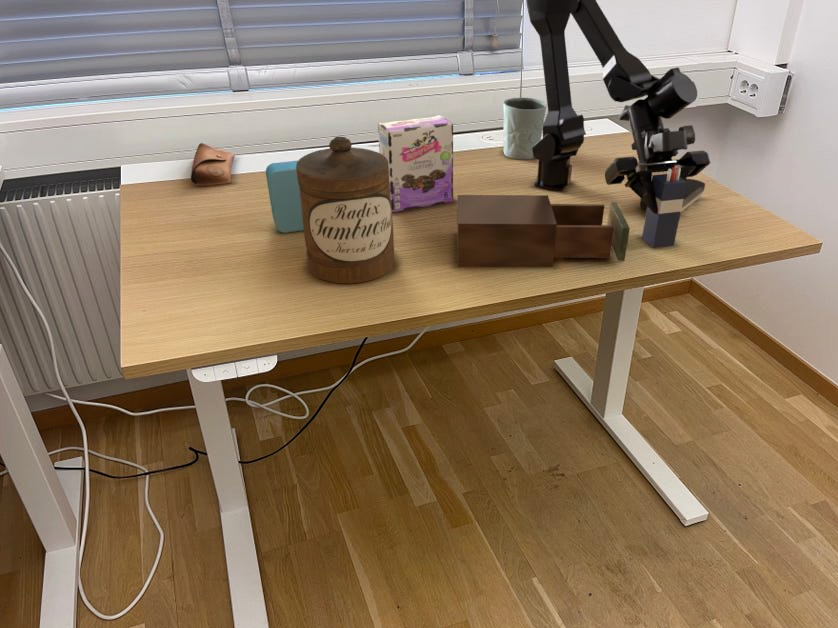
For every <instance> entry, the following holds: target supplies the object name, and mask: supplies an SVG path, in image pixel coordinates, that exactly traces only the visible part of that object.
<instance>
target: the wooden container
mask: <svg viewBox="0 0 838 628" xmlns="http://www.w3.org/2000/svg"><path fill="white" fill-rule="evenodd" d="M328 147H329V148H324V149H320V150H316V151H312V152H310V153H307V154H304V156H302V157H301V158H299V159H298V160H297V161H298V162H297V164H296V171H297V179H298V184H299V189H300V198H301V207H302V218H303V228H304V230H303V237H304V245H305V248H306V257H307V264H308V269H309V272H311V274H313V276H315V277H317V278H318V279H321V280H323V281H327V282H330V283H335V284H359V283H365V282H369V281H373V280H376V279H377V278H381V277H383V276H384V275H386V274H387V273H389V272H390V271H391V270H392V268H394V265H395V243H394V242H395V239H394V222H393V212H392V208H391V195H390V183H389V167H388V160H387V158H386V157H385V156H384V155H382V154H380V153H379V151H375V150H371V149H367V148H360V147H353V146H352V142H351V139H349V138H347V137H345V136H335V137H334V138H333V139H331V140H330V141H329V144H328Z"/></svg>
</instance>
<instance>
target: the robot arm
mask: <svg viewBox="0 0 838 628" xmlns="http://www.w3.org/2000/svg"><path fill="white" fill-rule="evenodd" d="M525 3H526V9H527V13H528V17H529V22H530V24H531V26H532V27H533V29H534V31H536V33H537V35H538V37H539V41H540V42H539V43H540V51H541V53H540V54H541V60H542V68H543V69H542V70H543V78H544V87H545V96H546V106H547V112H546V115H545V117H544V123H543V131H542V137H541V140H540V141H539V142H538V143H537V144H536V145H535V146H534V147H533V148H532V151H533V157H534V158H533V159H535V160H538V163H537V176H536V177H537V179H536V182H534V187H536V188H541V189H547V190H553V191H557V192H558V191H559V192H563V191H564V190H565V189H566V188H567V187H568V186H569V185H570V184H571V182H572V173H573V164H572V163H571V157H575V156H577V155H578V152H579V149H580V148H581V147H582V145H583V144H584V142H585V135H587V133H586V132H587V131H586V130H585V117H584V115H583V114H579V115H578V114H577V112H576V111H575V109H574V107H573V103H572V94H571V93H572V92H571V84H570V83H571V82H570V74H569V65H568V55H567V53H568V52H567V44H566V43H567V42H566V34H565V31H566V28H567V26H568V23H569V20H570V17H571V16H572V17H573V19H574V21H575V23H576V24H577V26H578V28H579V30H580V31H581V33H582V34H583V36H584V37H585V39H586V41H587V43H588V45H589V47H590V48H591V49H592V51H593V53H594V55H595V56H596V58H597V59H598V61H599V63H600V65H601V67H602V81H603V84H604V85H605V88H606V90H607V93H608V95H609V97H610V98H611V100H612V101H614V102H618V103H624V102H629V101H633V100H636V101H634V102H633V103H632V104H630V105H627V104H626V105H624V107H623V110H622V112H620V115H619V117H618V119H619V120H620V121H625V122H629V125H630V130H631V134H632V138H633V143H632V144H631V145H630V147H631V150H632V151H636V155H637V158H636V157H635V156H623V157H616V158H615V159H614V160H613V161H612V162H611V164H610V165H609V166H608V167H607V168H606V169H605V171H604V180H605V183H606V185H608V186H610V185H621V184H622V183H623V182H624V180H625V179H626V180H627V181H626V182H625V183H624V187H625V188H629V189H630V190H632V191H633V193H635V194H636V195H637V196H638V197H639V198H640V200H641V199H642V200H643V202H644V203H645V204H646V205H647V206H648V207H649V209H650V210H651V211H652V212H653V213H654V214H655V213H657V212H658V207H657V201H656V197H655V193H654V190H653V186H652V176H653V174H654V173H655V174H656V173H664V172H665V173H666V172H668V169H671V170H672V171H673V168H674V167H676V173H677V169H678V168H680V169H681V171H680V176H679V177H681V178H682V179H684V180H685V181H686V179H688V178H692V177H695V176H697V175H698V174H699V173H701V172H702V171H703V170H704V169H706V168H707V167H708V166H709V165H710V164H711V159H710V156H709V153H708V152H707V151H706V150H691V151H687V152H685V153H684V154H683V155H682V156H681V157H680V158H679V159H672V158H673V157H676V156H677V155H679V150H680V151H681V150H688V146H689V145H694V144H695V142H696V132H695V130H694V127H693V125H692V124H691V125H683V126H679V127H678V130H673V131H672V130H670V128H668V127H666V128H665V126H664V122H663V119H665V120H668V119H669V120H670V119H671V118H673V117H674V116H675V115H677V114H678V113H680V112H682V110H684V109H686V108H687V107H688V106H690V105H691V104H693V103H694V102H695V101H696V100H697V98H698V89H697V86H696V84H695V82H694V81H693V80H691V78H690V77H689V76H688V75H686V74H685V73H683V72H681V69H680V67H678V66H677V67H672V68H670V69H669V70H667V71H666V72H665V74H664V75H663V76H662V77H660V78H658V77H657V76H655V75H652V74H651V72H650V70H649V69H648V68H647V66H645V64H644V63H643V62H642V61H641V59H640V58H638V57H637V56H635V55H634V54H632V53H631V52H629V51H628V50H627V48H626V47H625V46H624V45H623V43H622V42H621V40H620V39H619V37H618V35H617V33H616V31H615V30H614V28H613V26H612V25H611V23H610V22H609V20H608V18H607V17H606V15H605V14H604V12H603V10H602V9H601V8H602V7H600V5H599V4H598V1H597V0H525ZM646 96H647V97H646ZM643 97H646V98H644V99H641V98H643ZM672 171H671V173H672ZM625 176H626V178H625Z"/></svg>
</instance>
